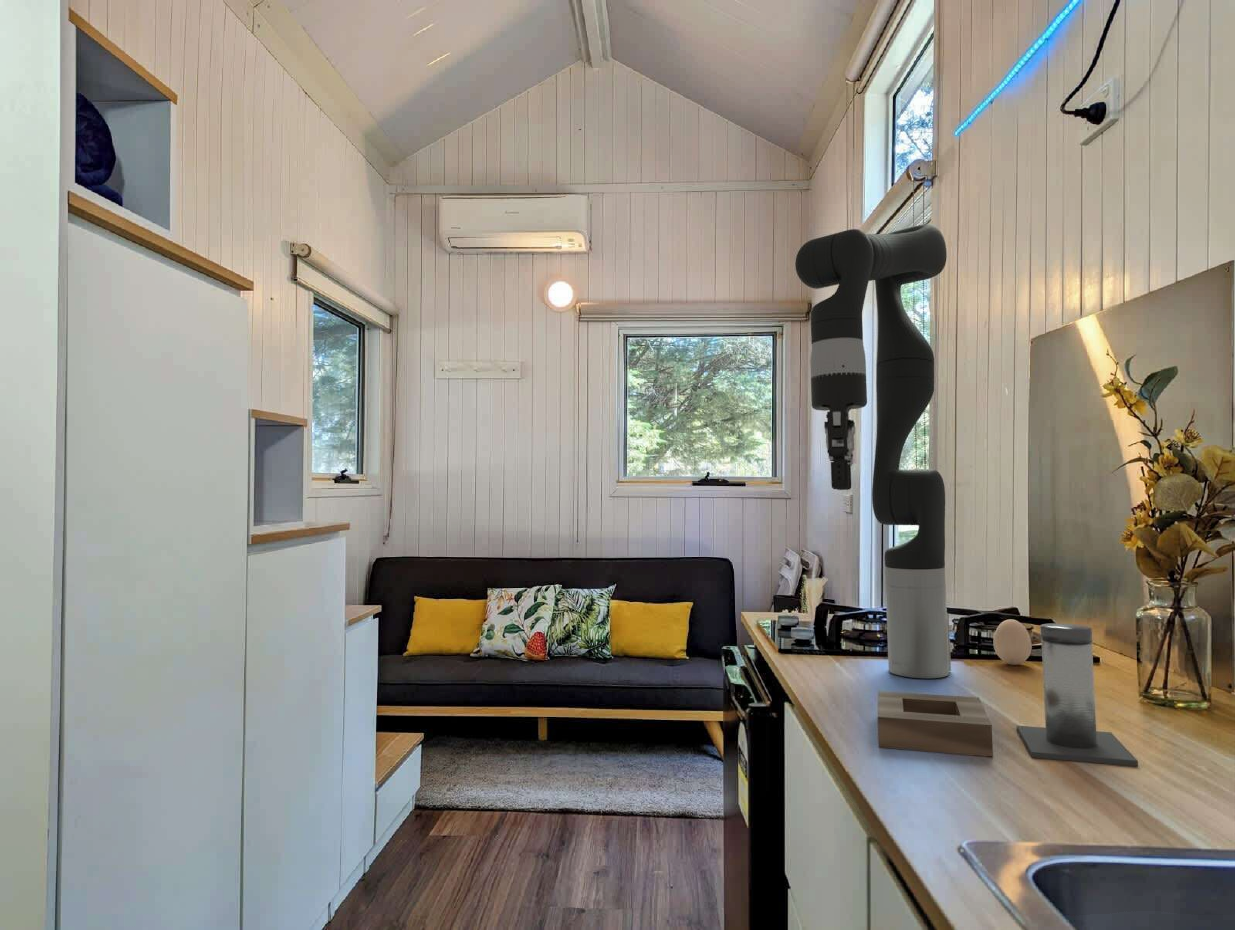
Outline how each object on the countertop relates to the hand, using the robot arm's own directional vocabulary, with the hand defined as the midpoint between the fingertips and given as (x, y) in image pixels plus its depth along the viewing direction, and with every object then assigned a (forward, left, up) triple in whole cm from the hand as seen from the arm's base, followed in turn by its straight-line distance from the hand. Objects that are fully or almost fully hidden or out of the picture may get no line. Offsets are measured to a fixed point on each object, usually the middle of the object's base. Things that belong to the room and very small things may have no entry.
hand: (841, 489), depth 105 cm
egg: (-42, +2, -30) cm, 52 cm away
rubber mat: (-5, +26, -30) cm, 40 cm away
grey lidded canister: (-5, +26, -30) cm, 40 cm away
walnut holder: (+3, +14, -30) cm, 33 cm away
